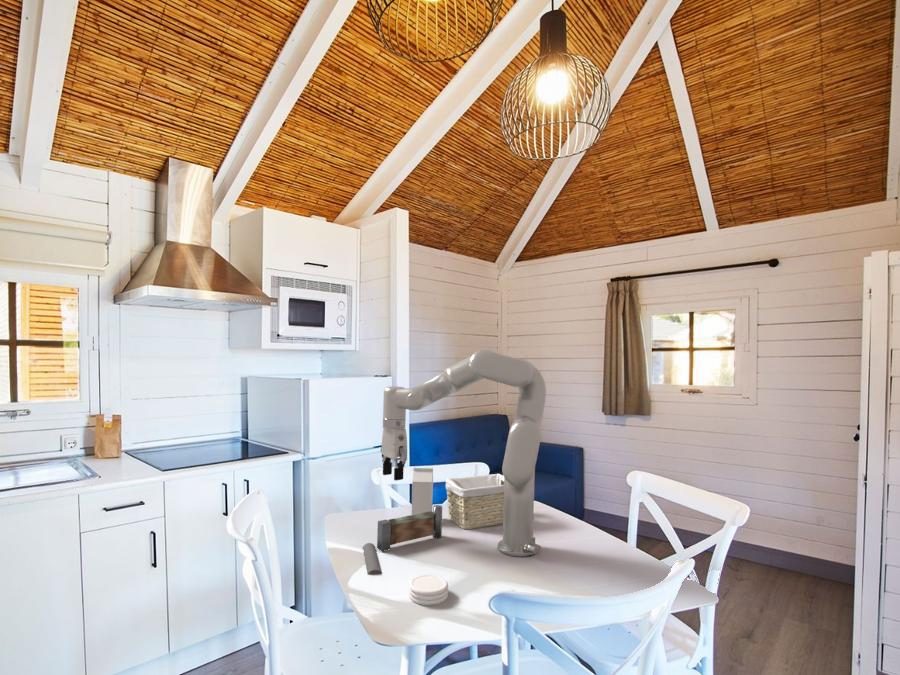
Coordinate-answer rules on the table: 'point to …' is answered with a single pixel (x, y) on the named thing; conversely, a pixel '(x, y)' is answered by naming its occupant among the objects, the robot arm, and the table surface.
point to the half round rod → (371, 559)
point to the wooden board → (411, 527)
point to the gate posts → (385, 529)
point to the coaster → (428, 590)
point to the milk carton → (422, 490)
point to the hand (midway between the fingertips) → (392, 476)
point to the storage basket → (476, 500)
